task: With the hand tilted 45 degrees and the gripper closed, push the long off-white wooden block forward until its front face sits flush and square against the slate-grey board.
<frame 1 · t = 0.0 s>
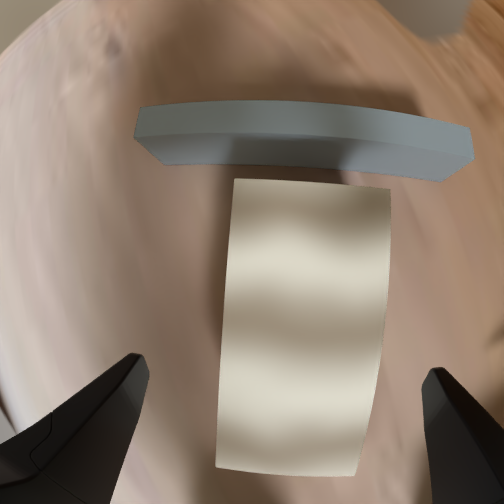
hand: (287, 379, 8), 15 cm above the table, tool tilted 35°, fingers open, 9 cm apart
block: (298, 319, 23), on the table
board: (306, 153, 24), on the table
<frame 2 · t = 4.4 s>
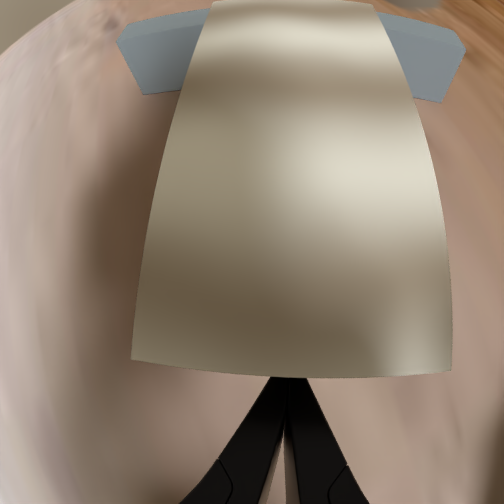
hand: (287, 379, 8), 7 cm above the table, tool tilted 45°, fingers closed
block: (294, 213, 17), on the table, touching gripper
board: (293, 74, 21), on the table
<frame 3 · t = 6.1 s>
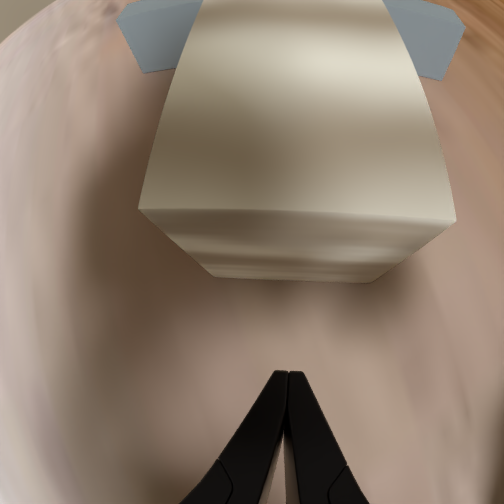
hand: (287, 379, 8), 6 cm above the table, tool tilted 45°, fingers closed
block: (295, 146, 18), on the table
board: (293, 52, 20), on the table
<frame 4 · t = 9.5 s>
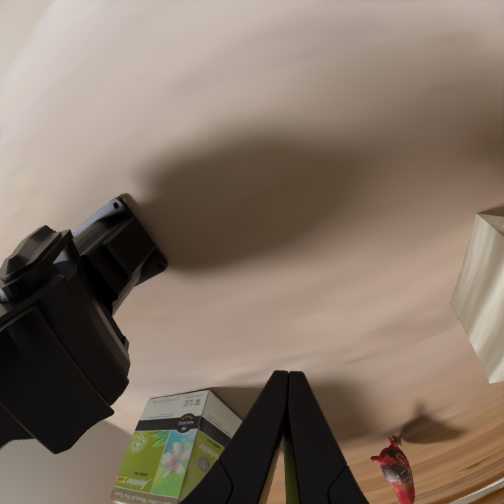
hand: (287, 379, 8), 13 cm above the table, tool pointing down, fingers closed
decorative bird figurine: (389, 435, 32), on the table
tea box: (213, 424, 34), on the table
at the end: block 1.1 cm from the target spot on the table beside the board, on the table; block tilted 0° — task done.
